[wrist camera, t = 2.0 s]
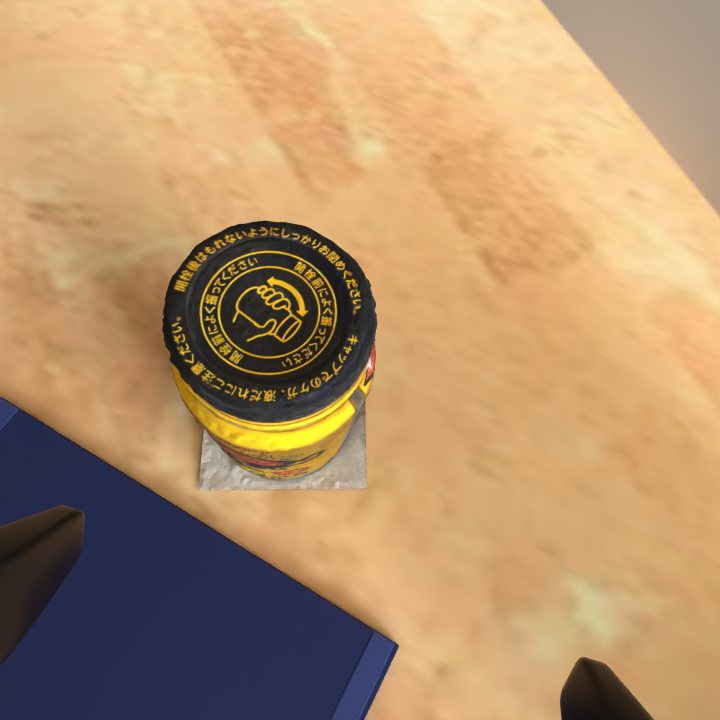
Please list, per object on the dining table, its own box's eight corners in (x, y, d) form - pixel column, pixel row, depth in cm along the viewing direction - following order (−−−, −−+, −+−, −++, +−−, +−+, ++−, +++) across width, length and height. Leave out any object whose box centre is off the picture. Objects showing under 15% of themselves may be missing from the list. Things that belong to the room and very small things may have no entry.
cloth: (210, 1037, 17) (208, 1050, 16) (-271, 703, 18) (-284, 707, 17) (397, 644, 21) (399, 646, 21) (1, 396, 22) (-5, 394, 22)
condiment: (199, 490, 22) (98, 447, 11) (213, 310, 25) (146, 123, 13) (366, 489, 23) (437, 448, 11) (362, 315, 25) (418, 144, 14)
